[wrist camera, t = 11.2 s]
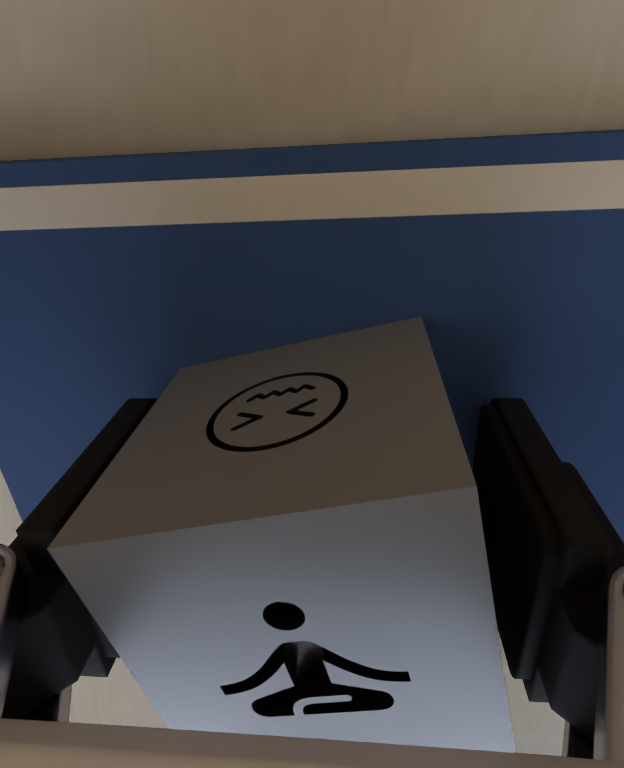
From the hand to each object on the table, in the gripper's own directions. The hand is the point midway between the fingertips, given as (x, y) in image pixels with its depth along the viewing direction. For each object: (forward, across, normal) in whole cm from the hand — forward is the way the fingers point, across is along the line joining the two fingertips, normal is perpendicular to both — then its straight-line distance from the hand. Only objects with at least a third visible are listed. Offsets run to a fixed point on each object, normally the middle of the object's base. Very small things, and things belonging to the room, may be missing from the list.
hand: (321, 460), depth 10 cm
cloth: (+1, 0, 0) cm, 1 cm away
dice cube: (+1, 0, 0) cm, 1 cm away
